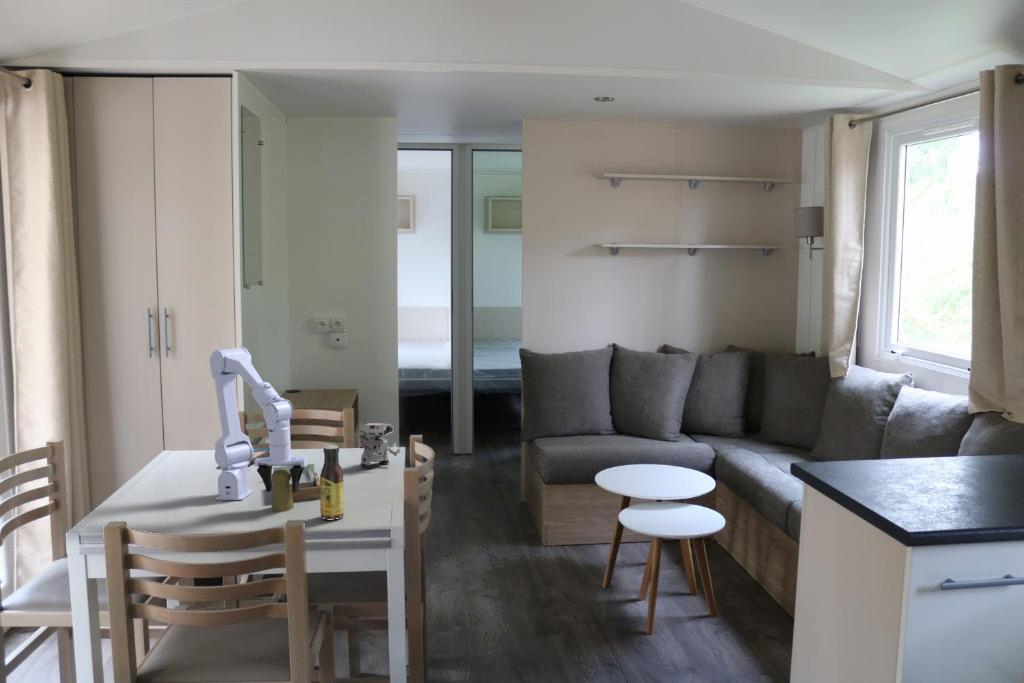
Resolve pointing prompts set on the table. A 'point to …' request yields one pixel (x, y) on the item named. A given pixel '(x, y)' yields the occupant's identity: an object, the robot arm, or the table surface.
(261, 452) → the gaming console
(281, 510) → the cork
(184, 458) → the table surface
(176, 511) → the table surface
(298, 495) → the caddy
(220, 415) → the robot arm
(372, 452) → the figurine
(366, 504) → the table surface
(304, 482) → the drawer
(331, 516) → the sauce bottle
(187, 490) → the table surface
